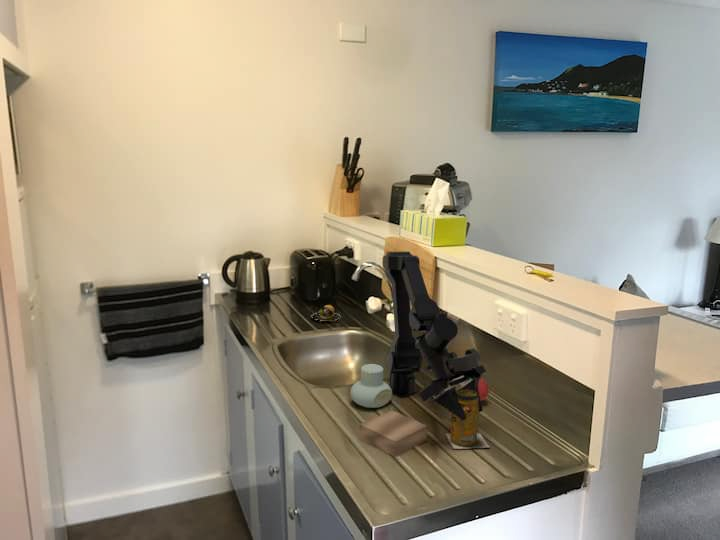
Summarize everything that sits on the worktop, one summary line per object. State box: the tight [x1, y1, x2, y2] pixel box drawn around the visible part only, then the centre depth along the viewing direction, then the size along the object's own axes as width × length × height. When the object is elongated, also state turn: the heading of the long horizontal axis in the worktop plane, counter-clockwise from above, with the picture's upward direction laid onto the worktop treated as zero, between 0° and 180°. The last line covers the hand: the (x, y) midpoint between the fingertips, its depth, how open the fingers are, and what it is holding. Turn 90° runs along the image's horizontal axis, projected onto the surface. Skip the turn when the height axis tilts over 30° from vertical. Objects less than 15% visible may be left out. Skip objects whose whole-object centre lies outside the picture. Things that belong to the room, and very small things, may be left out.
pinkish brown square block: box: [358, 410, 428, 458], centre depth 135 cm, size 11×11×4 cm
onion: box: [478, 377, 490, 402], centre depth 156 cm, size 6×6×8 cm
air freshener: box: [350, 363, 393, 409], centre depth 153 cm, size 11×8×10 cm
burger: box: [310, 302, 342, 323], centre depth 227 cm, size 12×12×8 cm
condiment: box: [445, 388, 490, 450], centre depth 134 cm, size 7×8×12 cm
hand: (473, 415), depth 132 cm, fingers closed on condiment, 6 cm apart
